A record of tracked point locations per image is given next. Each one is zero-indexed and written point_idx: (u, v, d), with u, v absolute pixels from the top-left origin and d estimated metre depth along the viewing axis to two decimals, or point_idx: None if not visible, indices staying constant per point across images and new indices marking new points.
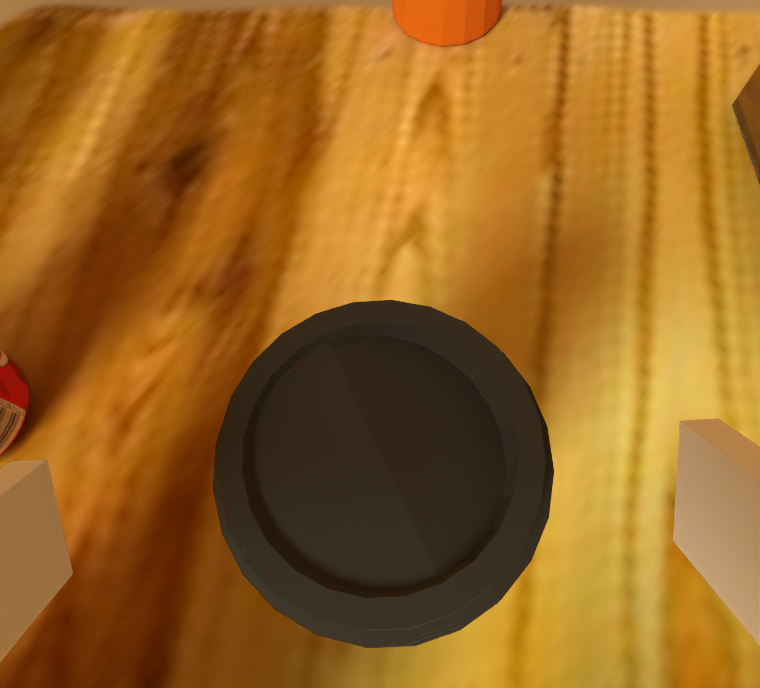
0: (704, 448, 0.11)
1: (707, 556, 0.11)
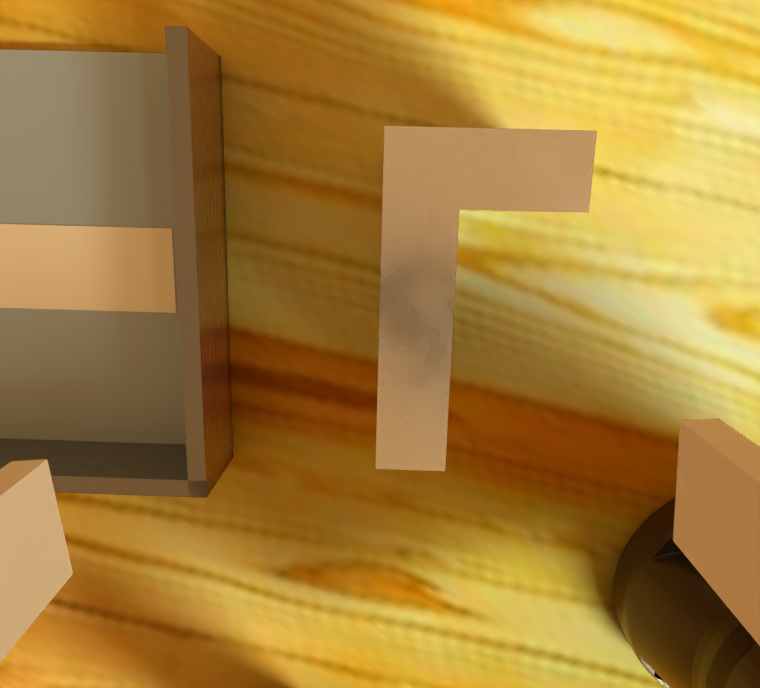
0: (704, 448, 0.11)
1: (707, 556, 0.11)
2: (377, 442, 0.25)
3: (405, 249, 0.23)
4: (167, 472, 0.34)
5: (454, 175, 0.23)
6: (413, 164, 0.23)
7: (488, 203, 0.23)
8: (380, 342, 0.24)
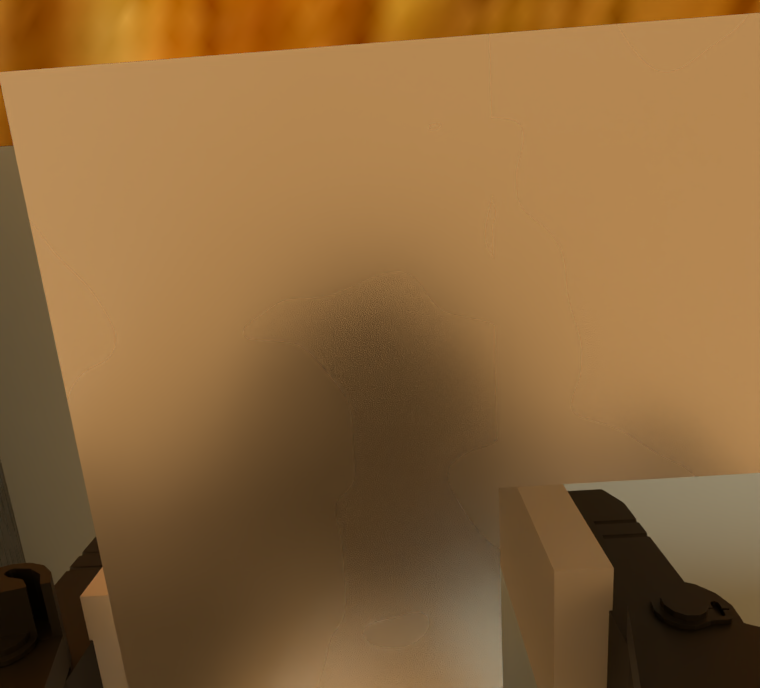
0: None
1: None
2: None
3: (244, 686, 0.05)
4: None
5: (458, 323, 0.04)
6: (214, 283, 0.04)
7: (658, 448, 0.04)
8: None
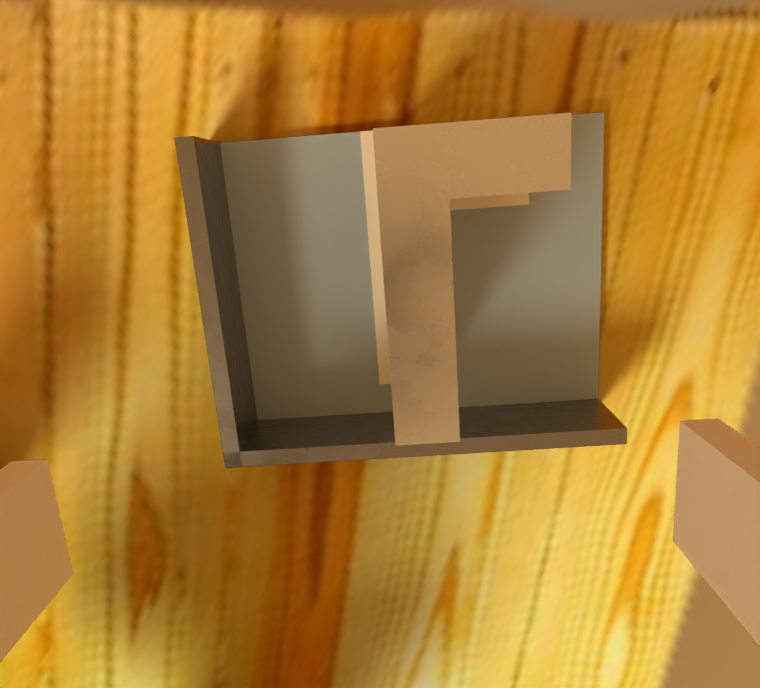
0: (704, 448, 0.11)
1: (706, 555, 0.11)
2: (395, 421, 0.27)
3: (402, 241, 0.25)
4: (239, 423, 0.36)
5: (442, 168, 0.24)
6: (402, 161, 0.24)
7: (476, 190, 0.25)
8: (388, 329, 0.26)
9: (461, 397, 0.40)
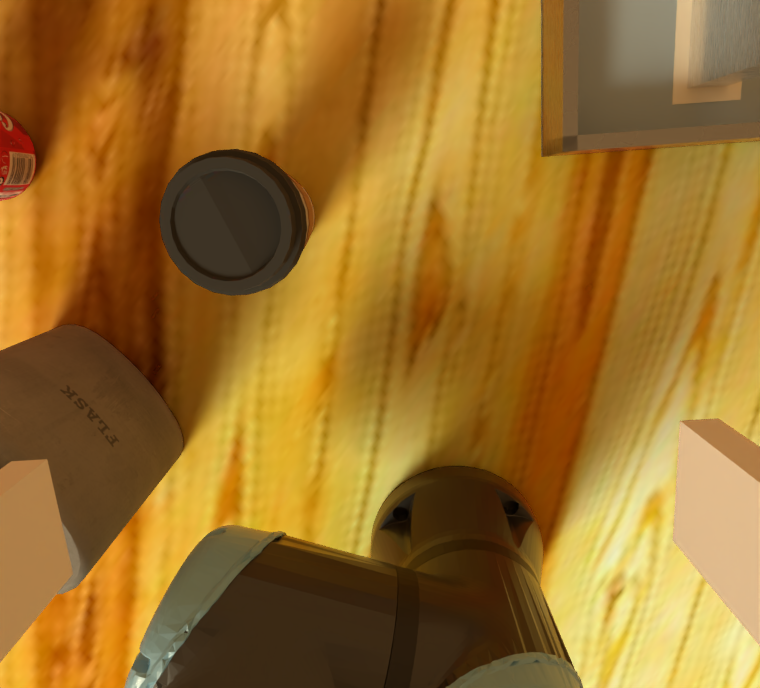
0: (704, 448, 0.11)
1: (707, 556, 0.11)
2: None
3: None
4: None
5: None
6: None
7: None
8: None
9: (744, 118, 0.44)
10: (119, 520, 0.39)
